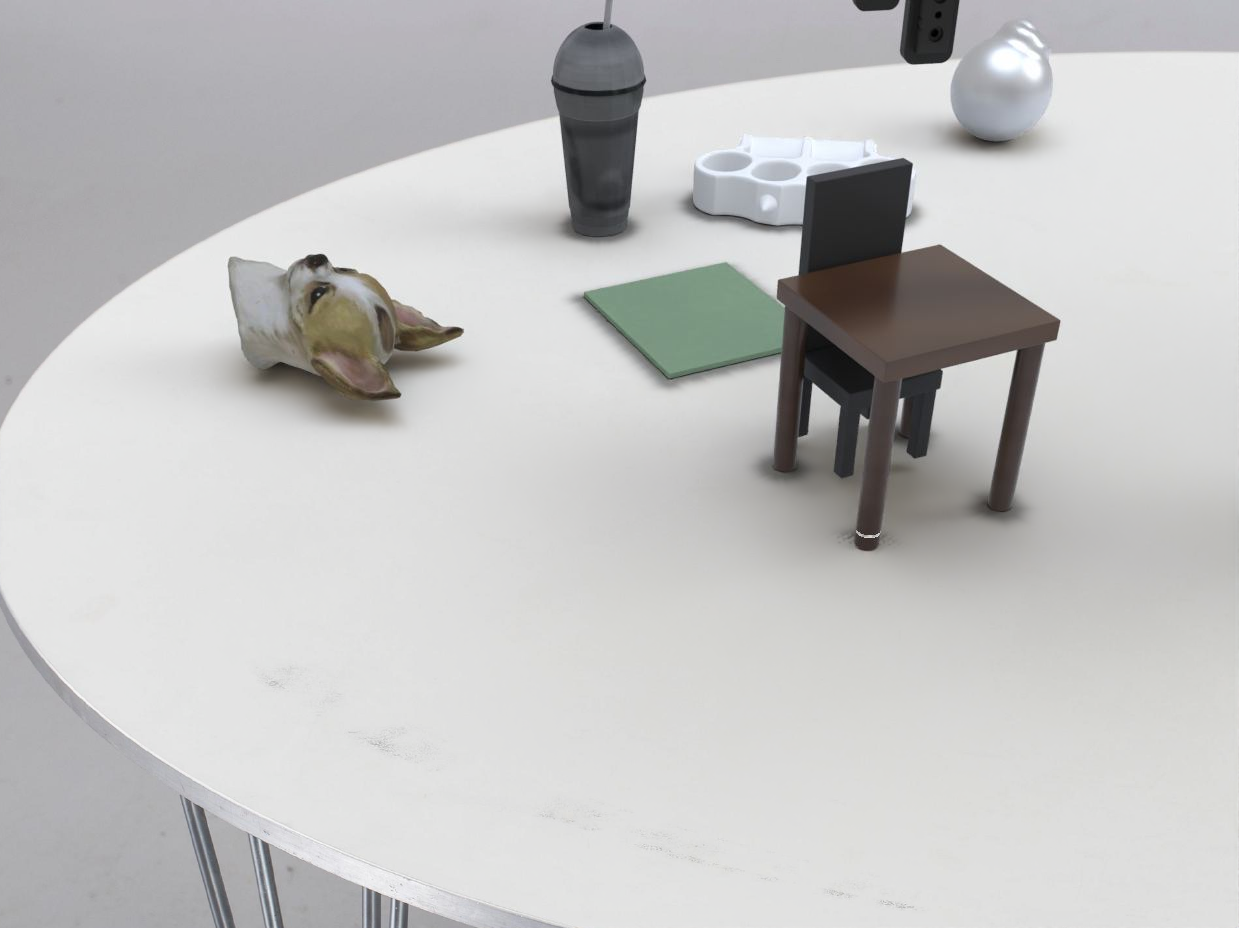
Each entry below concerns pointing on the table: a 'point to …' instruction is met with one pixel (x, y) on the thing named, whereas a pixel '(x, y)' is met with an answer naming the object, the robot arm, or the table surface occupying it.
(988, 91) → the white spiral shell
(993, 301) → the side table
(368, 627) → the table surface
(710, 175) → the white brass knuckles
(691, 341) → the mat
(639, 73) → the beverage cup
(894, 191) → the chair
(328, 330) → the ceramic sculpture
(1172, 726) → the table surface
